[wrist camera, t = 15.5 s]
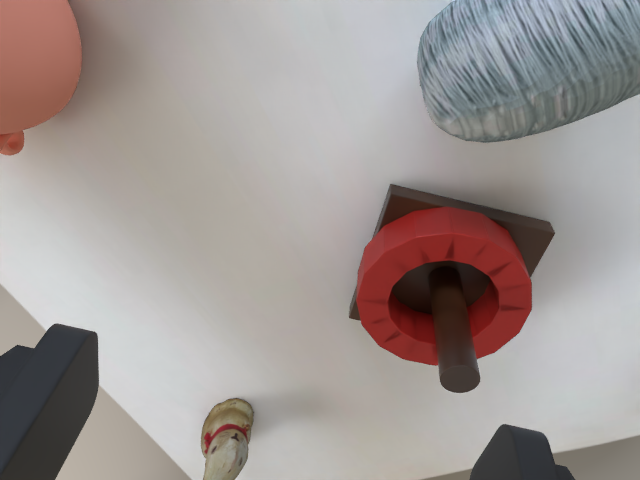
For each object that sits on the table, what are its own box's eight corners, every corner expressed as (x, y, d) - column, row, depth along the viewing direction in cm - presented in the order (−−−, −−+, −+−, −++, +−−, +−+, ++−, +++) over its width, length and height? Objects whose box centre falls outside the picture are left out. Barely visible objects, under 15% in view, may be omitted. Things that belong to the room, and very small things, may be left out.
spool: (695, -144, 25) (731, 16, 21) (672, 18, 33) (695, 158, 28) (404, -59, 31) (386, 79, 27) (442, 61, 38) (433, 182, 34)
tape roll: (344, 317, 45) (342, 347, 42) (380, 191, 38) (380, 217, 35) (487, 346, 45) (494, 378, 42) (548, 226, 38) (561, 254, 36)
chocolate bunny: (277, 422, 55) (258, 519, 47) (218, 445, 58) (192, 539, 50) (242, 389, 53) (217, 485, 45) (184, 414, 56) (149, 508, 48)
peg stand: (349, 306, 46) (341, 419, 37) (390, 183, 39) (393, 283, 30) (487, 337, 47) (514, 457, 37) (550, 221, 40) (603, 331, 30)
